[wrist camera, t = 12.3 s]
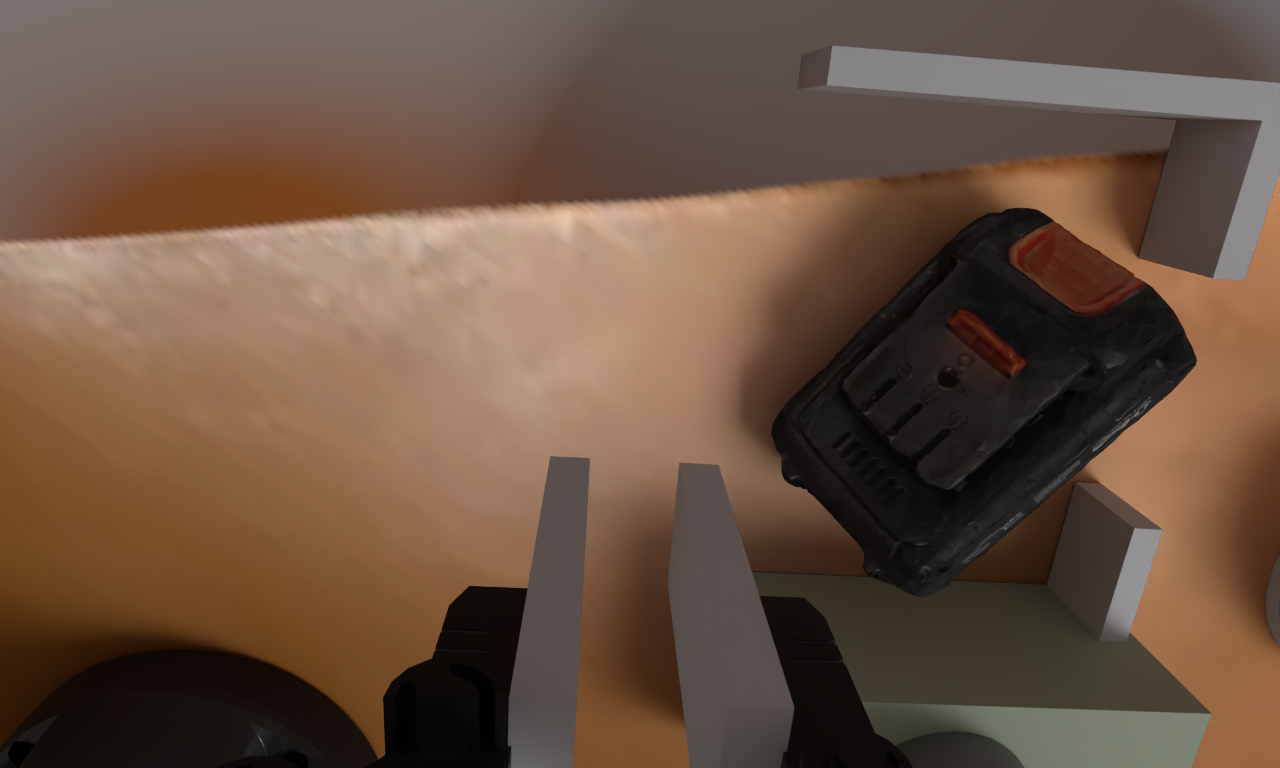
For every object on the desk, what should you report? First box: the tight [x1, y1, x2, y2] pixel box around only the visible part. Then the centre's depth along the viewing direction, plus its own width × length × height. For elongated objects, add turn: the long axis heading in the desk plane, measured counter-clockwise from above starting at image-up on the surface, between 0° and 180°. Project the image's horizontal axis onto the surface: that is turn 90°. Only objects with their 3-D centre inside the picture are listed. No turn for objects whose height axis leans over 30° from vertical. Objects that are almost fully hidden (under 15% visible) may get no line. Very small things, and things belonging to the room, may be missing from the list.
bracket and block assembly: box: [752, 45, 1280, 768], centre depth 24 cm, size 14×26×11 cm, turn 176°
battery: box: [771, 208, 1197, 598], centre depth 25 cm, size 12×8×7 cm
